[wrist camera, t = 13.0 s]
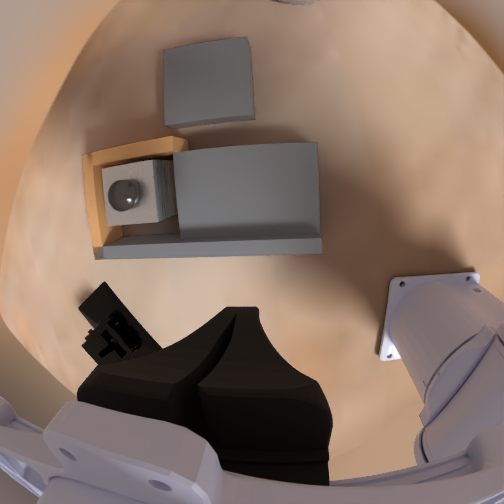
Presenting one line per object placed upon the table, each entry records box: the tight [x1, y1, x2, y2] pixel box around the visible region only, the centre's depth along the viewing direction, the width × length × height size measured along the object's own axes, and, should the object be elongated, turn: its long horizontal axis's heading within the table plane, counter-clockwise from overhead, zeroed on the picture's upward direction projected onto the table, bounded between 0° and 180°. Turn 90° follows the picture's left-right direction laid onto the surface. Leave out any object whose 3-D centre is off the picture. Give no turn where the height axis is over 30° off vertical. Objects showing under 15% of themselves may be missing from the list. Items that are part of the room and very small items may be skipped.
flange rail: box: [82, 136, 322, 260], centre depth 19 cm, size 16×8×3 cm, turn 93°
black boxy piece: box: [79, 282, 162, 365], centre depth 24 cm, size 12×7×5 cm, turn 38°
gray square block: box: [164, 37, 255, 129], centre depth 18 cm, size 6×6×2 cm
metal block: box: [102, 160, 178, 226], centre depth 19 cm, size 4×4×5 cm
